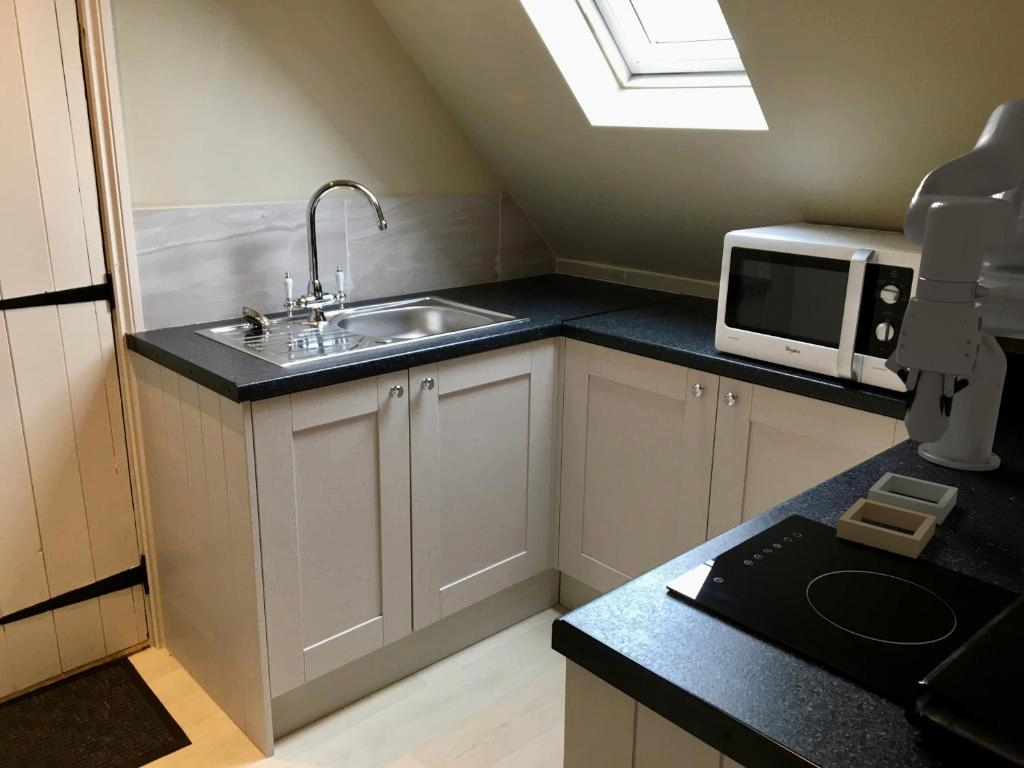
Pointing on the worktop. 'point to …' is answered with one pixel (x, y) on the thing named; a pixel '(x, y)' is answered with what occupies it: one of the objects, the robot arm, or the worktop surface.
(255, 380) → the worktop surface
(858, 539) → the sockets
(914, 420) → the salt shaker
